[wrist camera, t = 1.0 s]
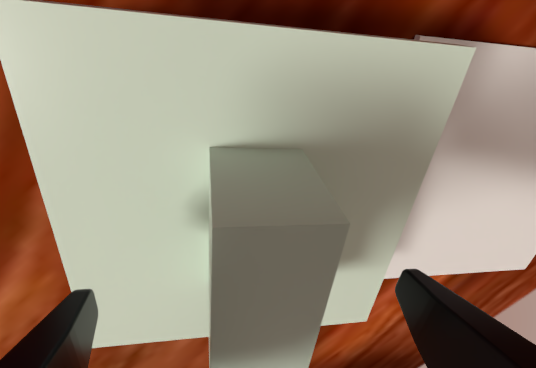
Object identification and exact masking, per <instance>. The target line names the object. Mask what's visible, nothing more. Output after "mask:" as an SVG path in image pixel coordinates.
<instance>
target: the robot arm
mask: <svg viewBox="0 0 536 368" xmlns="http://www.w3.org/2000/svg"><path fill="white" fill-rule="evenodd" d="M395 293H396V296H397V299H398V301H399V304H400V307H401V309H402V312H403V314H404V317H405V319H406V322H407V324H408V327H409V330H410V332H411V335H412V337H413V339H414V342H415V344H416V346H417V348H418V350H419V352H420V354H421V356H422V358H423V360H424V362H425V364H426V366H427V368H536V345H535V344H533V343H532V342H530V341H528V340H527V339H525V338H524V337H522V336H521V335H519V334H518V333H516V332H514V331H513V330H511V329H510V328H508V327H507V326H505V325H504V324H502V323H501V322H499V321H497V320H496V319H494V318H493V317H491V316H490V315H488V314H487V313H485V312H483V311H482V310H480V309H479V308H477V307H476V306H474V305H473V304H471V303H469V302H468V301H466V300H465V299H463V298H462V297H460V296H459V295H457V294H455V293H454V292H452V291H451V290H449V289H448V288H446V287H445V286H443V285H442V284H440V283H438V282H437V281H435V280H434V279H432V278H431V277H429V276H428V275H426V274H424V273H423V272H421V271H420V270H418V269H405V270H403V271H402V273H401V275H400V277H399V280H398V282H397V284H396V287H395ZM97 320H98V307H97V303H96V299H95V295H94V292H93V290H92V289H77V290H74V291H73V292H71V293H70V294H69V295H68V296H67V297H66V298H65V299H64V300H63V301H62V302H61V303H60V304H59V305H58V306H57V307H55V308H54V309H53V310H52V311H51V312H50V313H49V314H48V315H47V316H46V317H45V318H44V319H43V320H42V321H41V322H40V323H39V324H38V325H37V326H35V327H34V328H33V329H32V330H31V331H30V332H29V333H28V334H27V335H26V336H25V337H24V338H23V339H22V340H21V341H20V342H19V343H18V344H17V345H15V346H14V347H13V348H12V349H11V350H10V351H9V352H8V353H7V354H6V355H5V356H4V357H3V358H2V359H1V360H0V368H88V363H89V359H90V354H91V349H92V344H93V339H94V334H95V330H96V325H97Z"/></svg>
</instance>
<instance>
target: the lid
mask: <svg viewBox="0 0 536 368" xmlns="http://www.w3.org/2000/svg"><path fill="white" fill-rule="evenodd" d="M475 50H476V48H475V47H470V46H465V45H459V44H450V43H441V42H431V41H422V40H412V39H403V38H393V37H384V36H374V35H365V34H355V33H346V32H336V31H327V30H317V29H308V28H298V27H289V26H280V25H270V24H261V23H251V22H242V21H232V20H223V19H213V18H204V17H194V16H185V15H175V14H166V13H156V12H147V11H137V10H128V9H118V8H109V7H99V6H90V5H80V4H71V3H61V2H52V1H42V0H0V60H1V63H2V66H3V69H4V73H5V76H6V79H7V83H8V86H9V89H10V92H11V96H12V99H13V102H14V105H15V109H16V112H17V115H18V119H19V122H20V125H21V128H22V132H23V135H24V138H25V141H26V145H27V148H28V151H29V154H30V158H31V161H32V164H33V168H34V171H35V174H36V177H37V181H38V184H39V187H40V190H41V194H42V197H43V200H44V204H45V207H46V210H47V213H48V217H49V220H50V223H51V226H52V230H53V233H54V236H55V239H56V243H57V246H58V249H59V253H60V256H61V259H62V262H63V266H64V269H65V272H66V275H67V279H68V282H69V285H70V289H71V292H73V291H74V290H77V289H92V290H93V292H94V295H95V299H96V303H97V307H98V320H97V325H96V330H95V334H94V339H93V344H92V348H97V347H107V346H118V345H128V344H138V343H149V342H159V341H169V340H179V339H190V338H200V337H209V368H308V367H309V364H310V360H311V357H312V354H313V350H314V347H315V343H316V340H317V336H318V333H319V330H320V326H323V325H333V324H343V323H354V322H364V321H367V319H368V316H369V314H370V311H371V309H372V306H373V304H374V301H375V299H376V296H377V294H378V291H379V289H380V286H381V284H382V281H383V279H384V276H385V274H386V271H387V269H388V266H389V264H390V261H391V259H392V256H393V254H394V251H395V249H396V247H397V244H398V242H399V239H400V237H401V234H402V232H403V229H404V227H405V224H406V222H407V219H408V217H409V214H410V212H411V209H412V207H413V204H414V202H415V199H416V197H417V194H418V192H419V189H420V187H421V184H422V182H423V179H424V177H425V174H426V172H427V169H428V167H429V164H430V162H431V160H432V157H433V155H434V152H435V150H436V147H437V145H438V142H439V140H440V137H441V135H442V132H443V130H444V127H445V125H446V122H447V120H448V117H449V115H450V112H451V110H452V107H453V105H454V102H455V100H456V97H457V95H458V92H459V90H460V87H461V85H462V82H463V80H464V77H465V75H466V73H467V70H468V68H469V65H470V63H471V60H472V58H473V55H474V53H475Z"/></svg>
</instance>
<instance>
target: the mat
mask: <svg viewBox="0 0 536 368" xmlns="http://www.w3.org/2000/svg"><path fill="white" fill-rule="evenodd" d="M414 40H422V41H431V42H441V43H450V44H459V45H465V46H470V47H475V48H476V50H475V53H474V55H473V58H472V60H471V63H470V65H469V68H468V70H467V73H466V75H465V77H464V80H463V82H462V85H461V87H460V90H459V92H458V95H457V97H456V100H455V102H454V105H453V107H452V110H451V112H450V115H449V117H448V120H447V122H446V125H445V127H444V130H443V132H442V135H441V137H440V140H439V142H438V145H437V147H436V150H435V152H434V155H433V157H432V160H431V162H430V164H429V167H428V169H427V172H426V174H425V177H424V179H423V182H422V184H421V187H420V189H419V192H418V194H417V197H416V199H415V202H414V204H413V207H412V209H411V212H410V214H409V217H408V219H407V222H406V224H405V227H404V229H403V232H402V234H401V237H400V239H399V242H398V244H397V247H396V249H395V251H394V254H393V256H392V259H391V261H390V264H389V266H388V269H387V271H386V274H385V276H384V279H387V278H399V277H400V275H401V273H402V271H403V270H405V269H418V270H420V271H421V272H423V273H424V274H426V275H428V276H431V275H446V274H460V273H475V272H490V271H504V270H519V269H526V267H527V266H528V264H529V263H530V262H531V260H532V259H533V257H534V256H535V254H536V48H531V47H522V46H513V45H504V44H494V43H485V42H476V41H467V40H458V39H449V38H439V37H430V36H421V35H415V38H414Z"/></svg>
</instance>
